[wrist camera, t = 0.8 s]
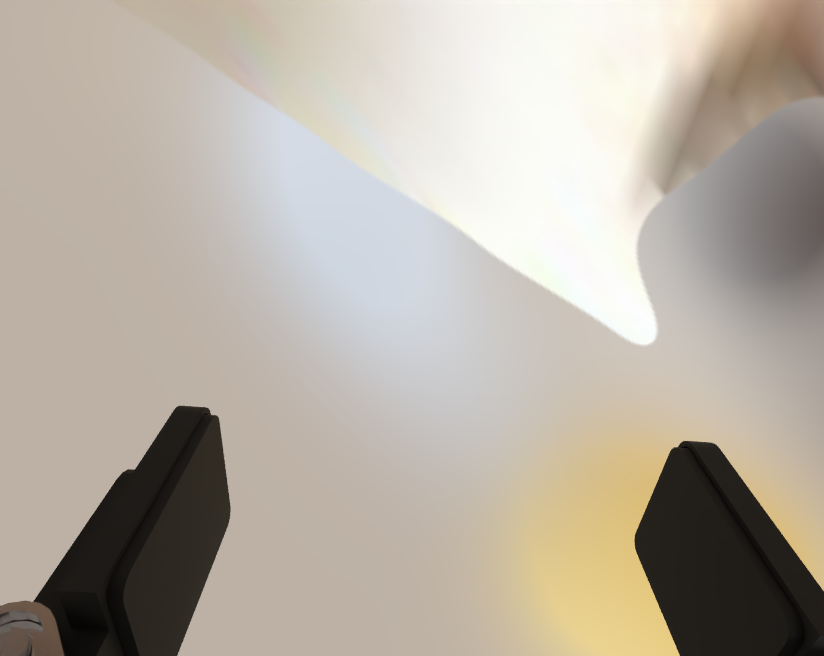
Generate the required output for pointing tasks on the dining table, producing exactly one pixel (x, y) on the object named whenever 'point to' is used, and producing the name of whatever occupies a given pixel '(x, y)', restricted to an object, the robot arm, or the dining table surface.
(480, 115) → the dining table surface
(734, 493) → the robot arm
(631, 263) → the dining table surface
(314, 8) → the dining table surface
